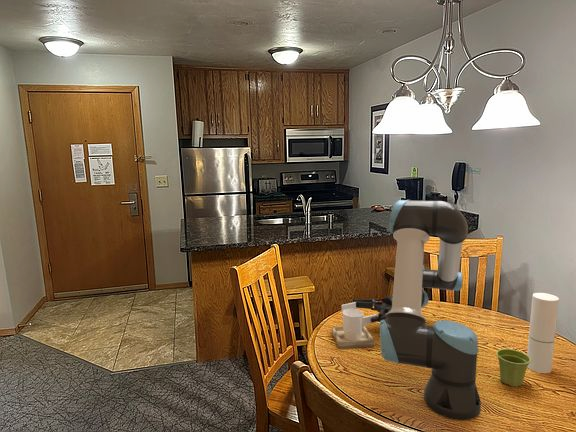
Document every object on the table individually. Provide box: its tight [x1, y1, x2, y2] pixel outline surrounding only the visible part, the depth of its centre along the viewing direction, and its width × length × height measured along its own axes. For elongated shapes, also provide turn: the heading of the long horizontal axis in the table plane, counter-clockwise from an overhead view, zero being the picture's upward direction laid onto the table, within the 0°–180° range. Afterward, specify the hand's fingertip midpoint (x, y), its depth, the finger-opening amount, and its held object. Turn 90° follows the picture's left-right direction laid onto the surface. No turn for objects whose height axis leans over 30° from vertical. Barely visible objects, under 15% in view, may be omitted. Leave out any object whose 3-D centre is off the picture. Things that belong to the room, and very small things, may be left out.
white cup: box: [342, 308, 364, 341], centre depth 153 cm, size 8×8×10 cm
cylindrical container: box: [526, 292, 560, 374], centre depth 130 cm, size 7×7×25 cm
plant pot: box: [495, 348, 531, 388], centre depth 124 cm, size 9×9×9 cm
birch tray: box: [331, 325, 375, 350], centre depth 154 cm, size 13×13×2 cm
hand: (351, 314), depth 153 cm, fingers open, 13 cm apart
